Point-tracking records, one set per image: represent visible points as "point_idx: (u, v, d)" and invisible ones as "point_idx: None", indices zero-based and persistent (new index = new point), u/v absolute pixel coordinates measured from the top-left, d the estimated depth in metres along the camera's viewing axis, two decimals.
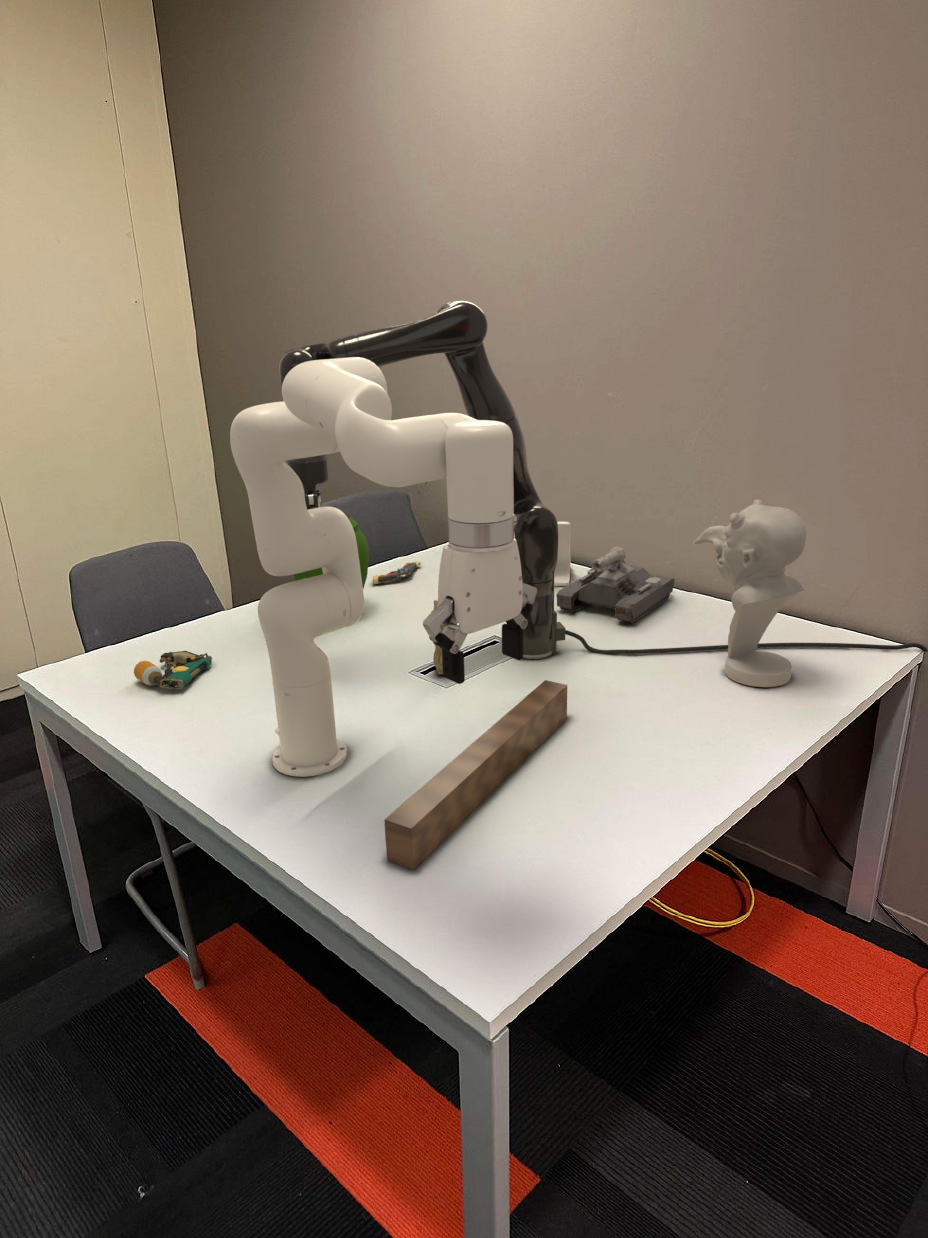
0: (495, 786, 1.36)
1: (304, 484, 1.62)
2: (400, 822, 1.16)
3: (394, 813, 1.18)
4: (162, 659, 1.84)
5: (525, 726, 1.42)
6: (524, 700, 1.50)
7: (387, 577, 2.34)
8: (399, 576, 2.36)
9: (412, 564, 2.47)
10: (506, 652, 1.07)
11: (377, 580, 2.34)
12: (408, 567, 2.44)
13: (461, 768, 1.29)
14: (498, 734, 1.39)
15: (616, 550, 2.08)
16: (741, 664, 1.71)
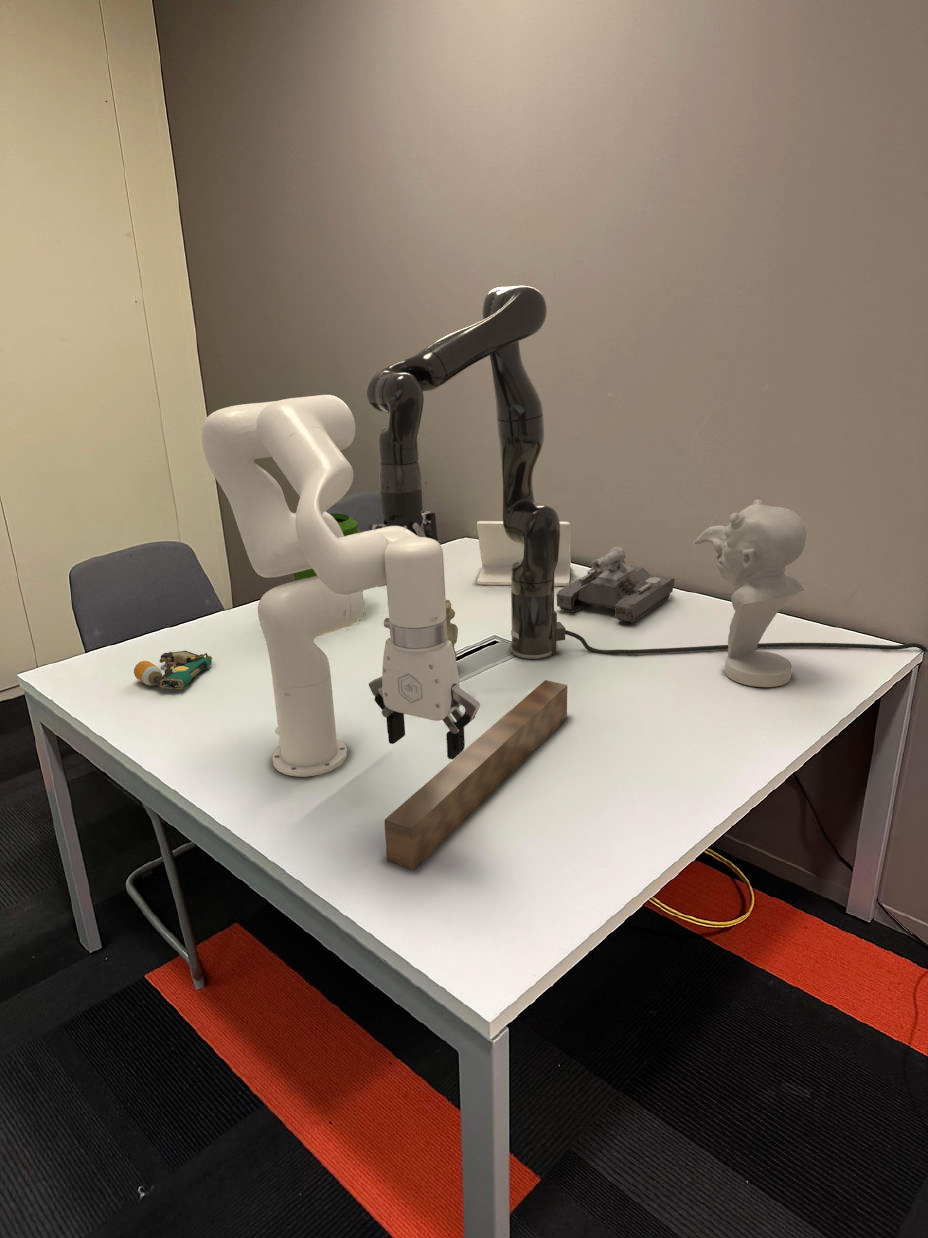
0: (495, 786, 1.36)
1: (383, 513, 1.54)
2: (400, 822, 1.16)
3: (394, 813, 1.18)
4: (162, 659, 1.84)
5: (525, 726, 1.42)
6: (524, 700, 1.50)
7: None
8: None
9: None
10: (396, 739, 1.20)
11: None
12: None
13: (461, 768, 1.29)
14: (498, 734, 1.39)
15: (616, 550, 2.08)
16: (741, 664, 1.71)
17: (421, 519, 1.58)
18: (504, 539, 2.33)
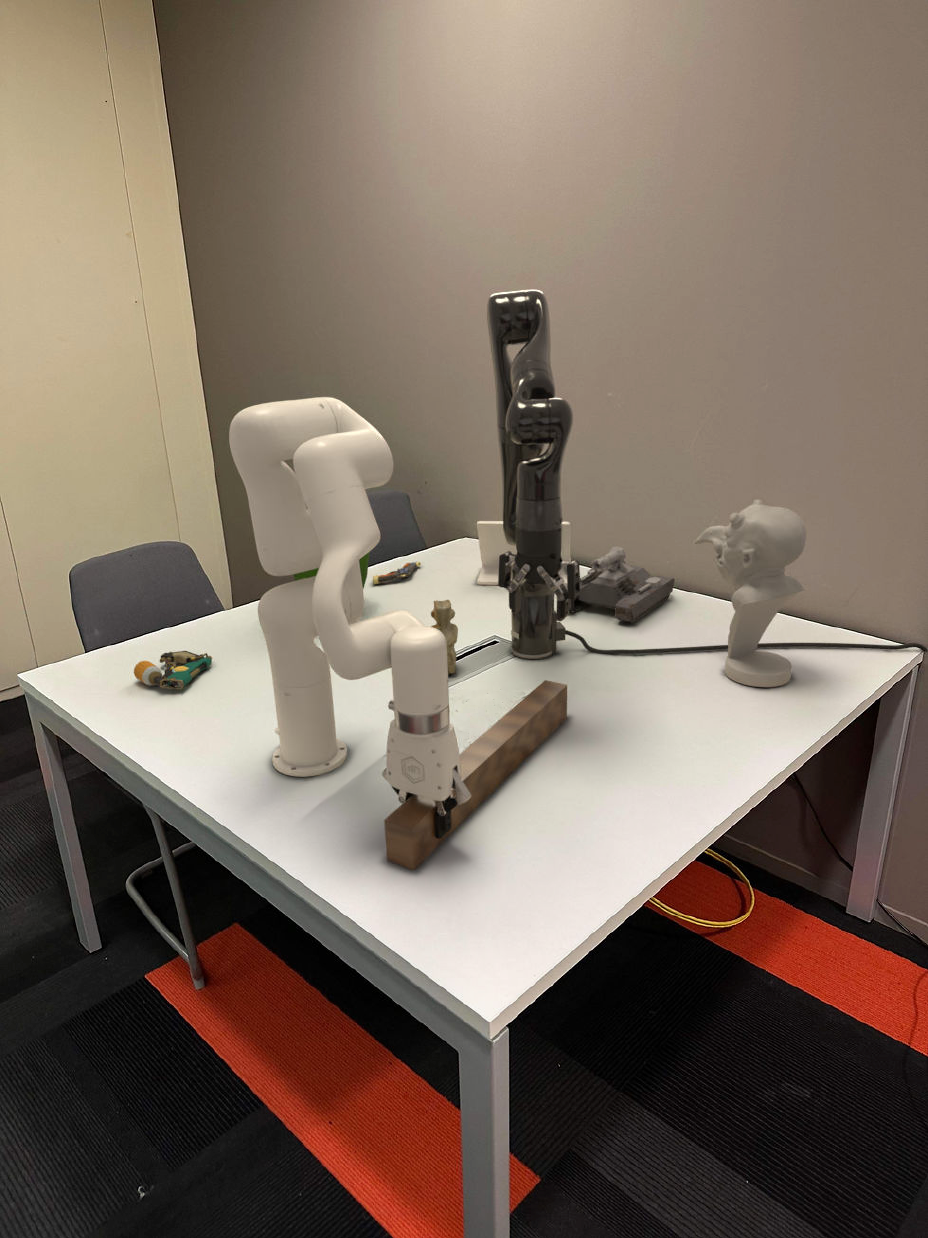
0: (495, 786, 1.36)
1: None
2: (400, 822, 1.16)
3: (394, 813, 1.18)
4: (162, 659, 1.84)
5: (525, 726, 1.42)
6: (524, 700, 1.50)
7: (387, 577, 2.34)
8: (399, 576, 2.36)
9: (412, 564, 2.47)
10: None
11: (377, 580, 2.34)
12: (408, 567, 2.44)
13: (461, 768, 1.29)
14: (498, 734, 1.39)
15: (616, 550, 2.08)
16: (741, 664, 1.71)
17: (555, 566, 1.40)
18: (504, 539, 2.33)
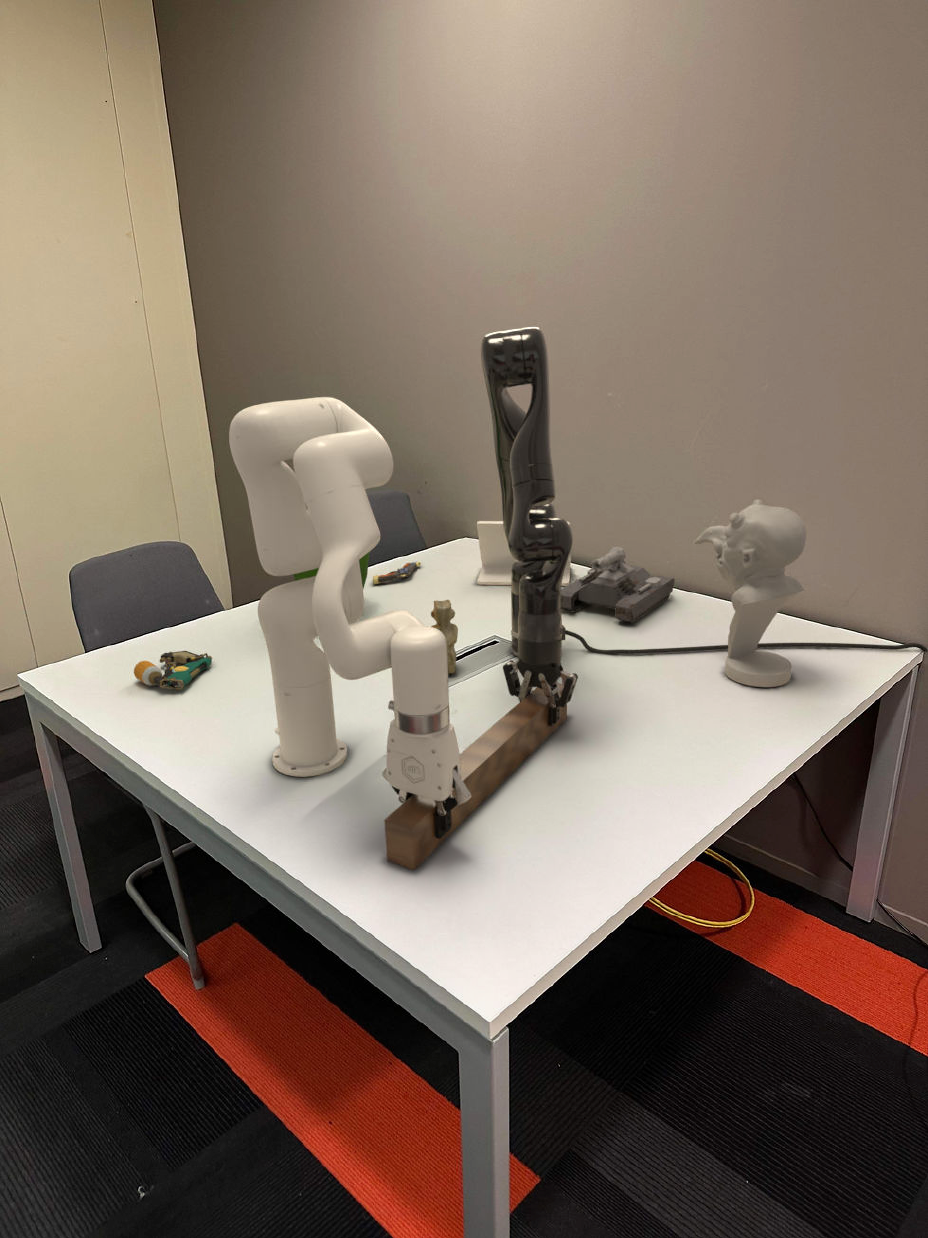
0: (495, 786, 1.36)
1: None
2: (400, 822, 1.16)
3: (394, 813, 1.18)
4: (162, 659, 1.84)
5: (525, 726, 1.42)
6: (524, 700, 1.50)
7: (387, 577, 2.34)
8: (399, 576, 2.36)
9: (412, 564, 2.47)
10: None
11: (377, 580, 2.34)
12: (408, 567, 2.44)
13: (462, 768, 1.29)
14: (498, 734, 1.39)
15: (616, 550, 2.08)
16: (741, 664, 1.71)
17: (555, 673, 1.47)
18: (504, 539, 2.33)
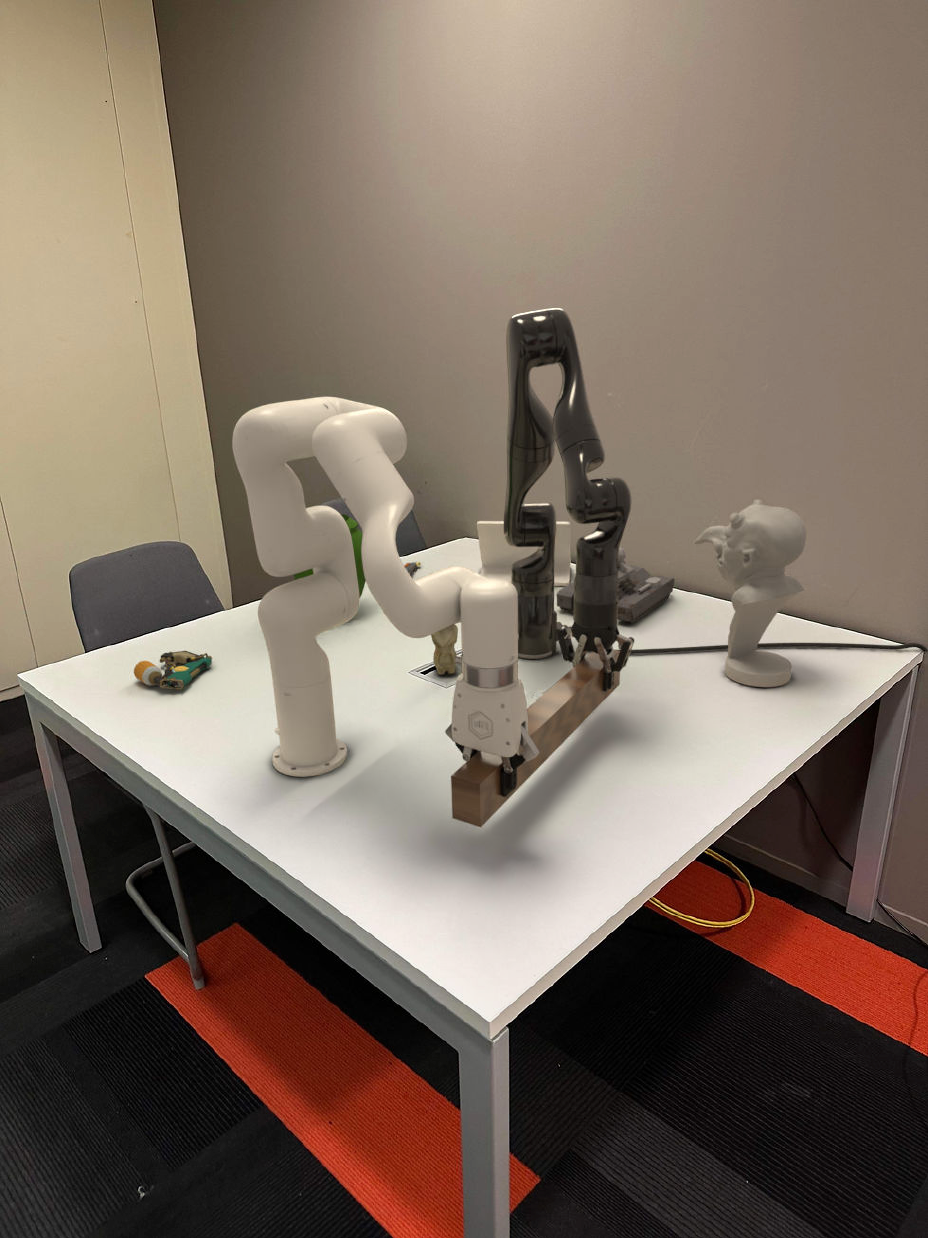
0: (554, 748, 1.34)
1: None
2: (467, 778, 1.14)
3: (460, 770, 1.16)
4: (162, 659, 1.84)
5: (582, 689, 1.40)
6: (579, 665, 1.48)
7: None
8: None
9: (412, 564, 2.47)
10: None
11: None
12: (408, 567, 2.44)
13: None
14: (557, 696, 1.37)
15: None
16: (741, 664, 1.71)
17: (612, 637, 1.44)
18: (504, 539, 2.33)
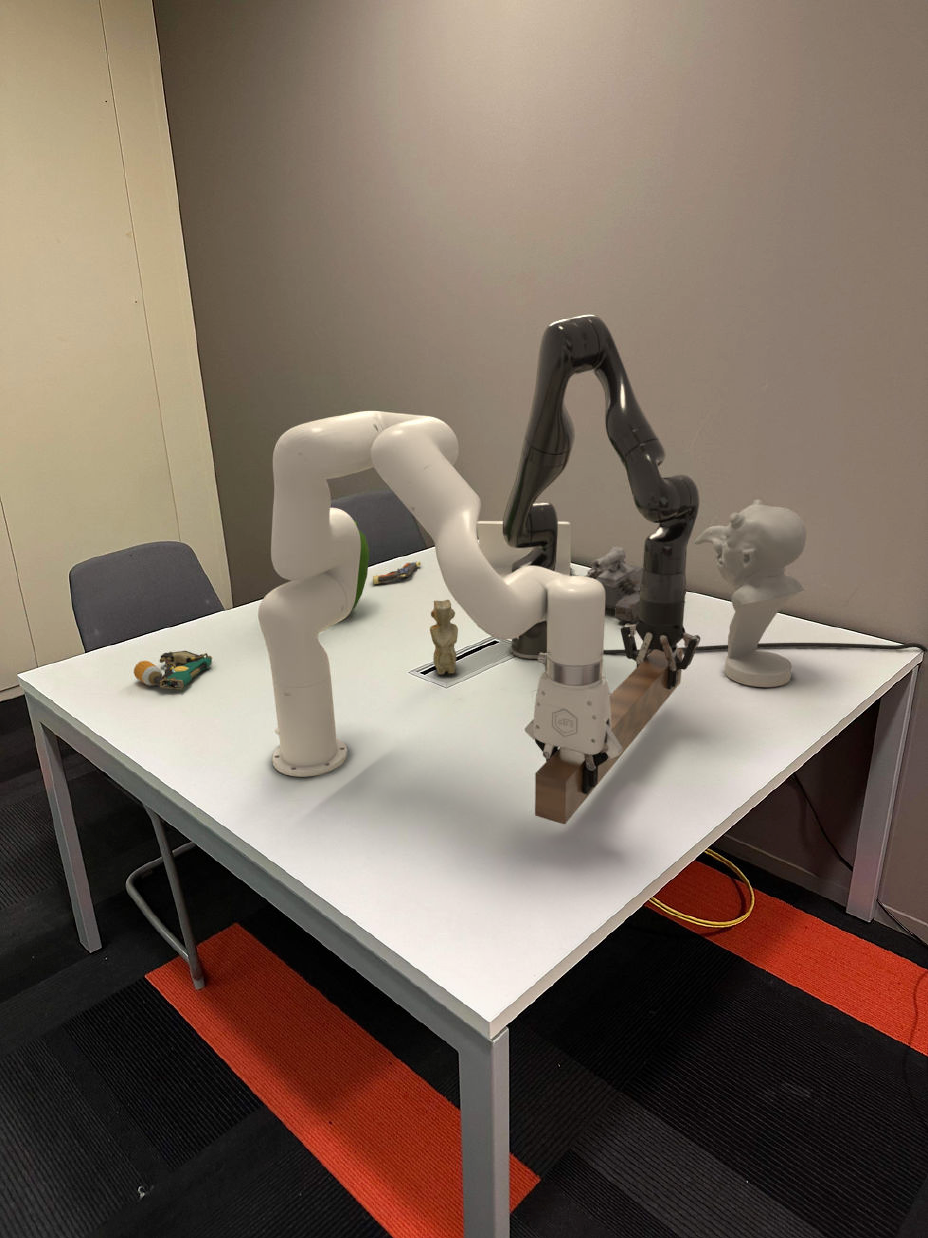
0: (626, 746, 1.34)
1: None
2: (552, 775, 1.15)
3: (544, 767, 1.17)
4: (162, 659, 1.84)
5: (651, 687, 1.41)
6: (643, 663, 1.48)
7: (387, 577, 2.34)
8: (399, 576, 2.36)
9: (412, 564, 2.47)
10: None
11: (377, 580, 2.34)
12: (408, 567, 2.44)
13: None
14: (627, 694, 1.37)
15: (616, 550, 2.08)
16: (741, 664, 1.71)
17: (678, 635, 1.45)
18: None
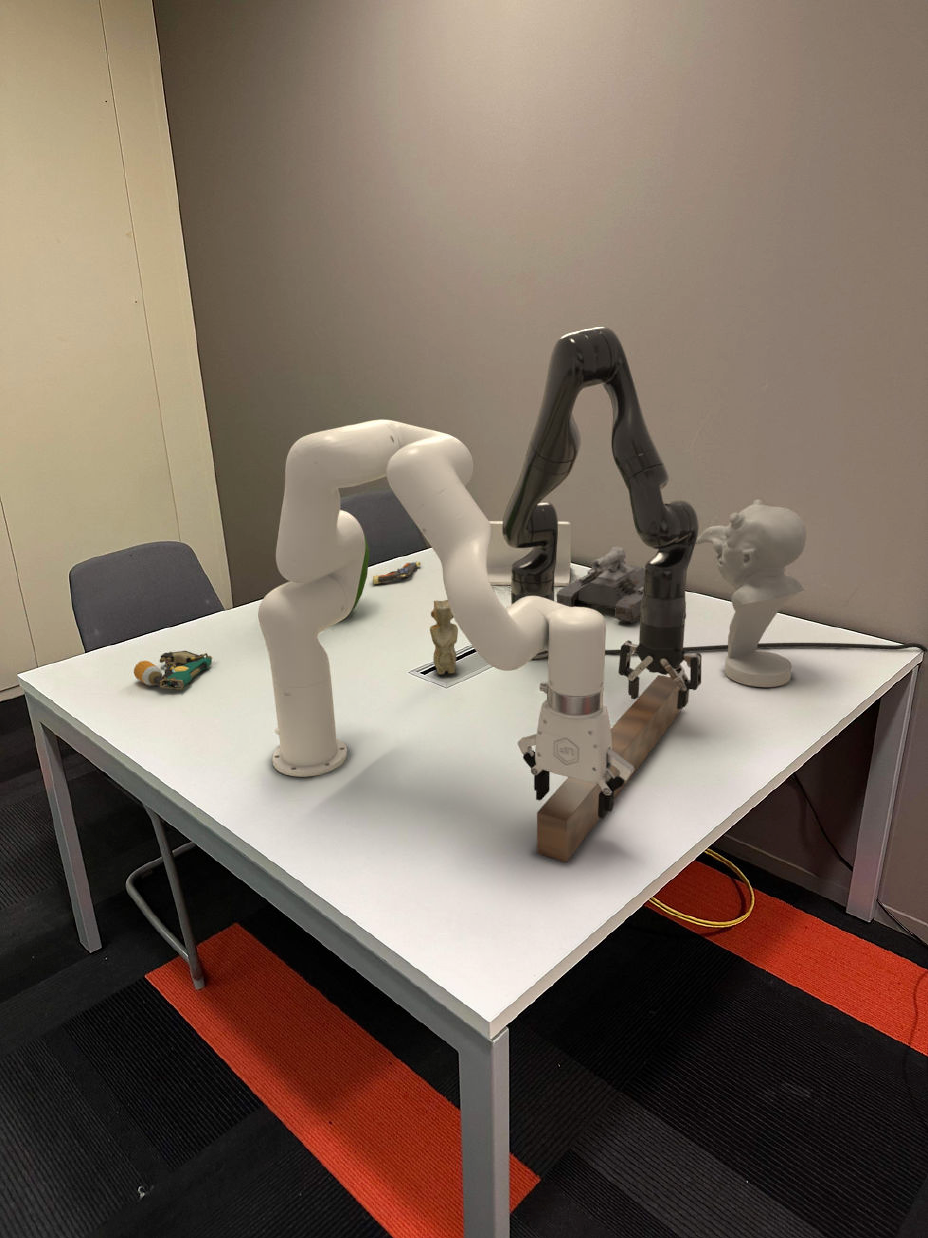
0: (627, 780, 1.36)
1: None
2: (554, 814, 1.17)
3: (545, 806, 1.19)
4: (162, 659, 1.84)
5: (650, 720, 1.43)
6: (643, 695, 1.51)
7: (387, 577, 2.34)
8: (399, 576, 2.36)
9: (412, 564, 2.47)
10: (543, 795, 1.24)
11: (377, 580, 2.34)
12: (408, 567, 2.44)
13: None
14: (627, 728, 1.40)
15: (616, 550, 2.08)
16: (741, 664, 1.71)
17: (678, 659, 1.46)
18: None
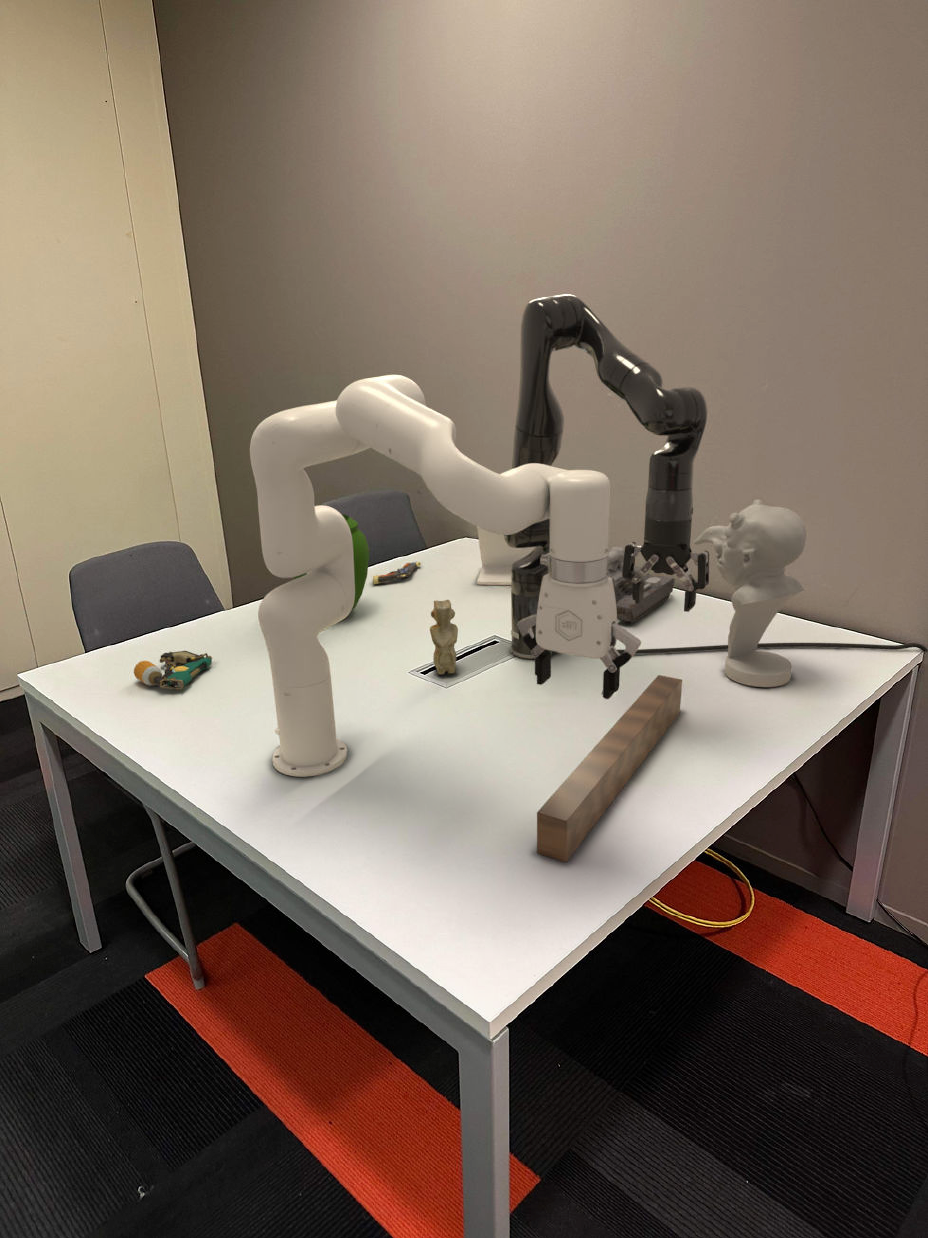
0: (627, 780, 1.36)
1: None
2: (554, 814, 1.17)
3: (545, 806, 1.19)
4: (162, 659, 1.84)
5: (650, 720, 1.43)
6: (643, 695, 1.51)
7: (387, 577, 2.34)
8: (399, 576, 2.36)
9: (412, 564, 2.47)
10: (544, 679, 1.18)
11: (377, 580, 2.34)
12: (408, 567, 2.44)
13: (600, 761, 1.30)
14: (627, 728, 1.40)
15: (616, 550, 2.08)
16: (741, 664, 1.71)
17: (685, 556, 1.40)
18: None
